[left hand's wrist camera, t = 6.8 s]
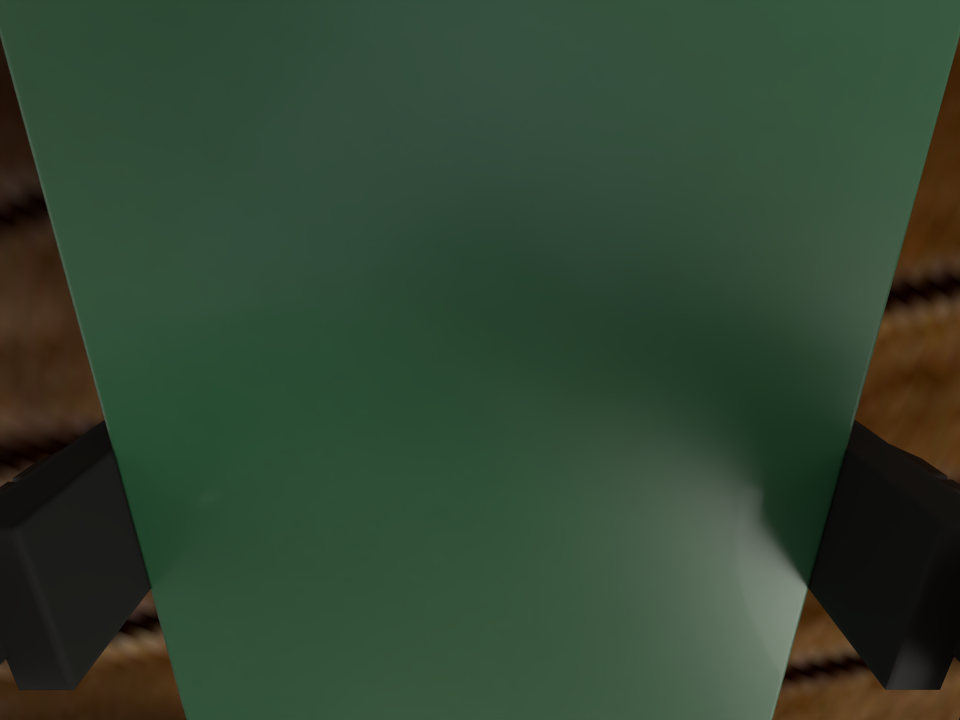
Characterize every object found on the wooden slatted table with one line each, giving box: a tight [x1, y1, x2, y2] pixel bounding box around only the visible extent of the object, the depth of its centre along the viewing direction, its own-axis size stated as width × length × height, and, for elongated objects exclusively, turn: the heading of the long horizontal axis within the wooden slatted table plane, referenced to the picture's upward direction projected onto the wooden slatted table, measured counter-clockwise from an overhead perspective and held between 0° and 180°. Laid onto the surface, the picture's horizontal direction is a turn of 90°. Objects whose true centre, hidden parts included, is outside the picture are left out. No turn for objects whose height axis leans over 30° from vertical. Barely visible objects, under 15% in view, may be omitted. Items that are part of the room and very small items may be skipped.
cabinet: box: [0, 0, 960, 720], centre depth 12 cm, size 21×11×11 cm, turn 0°
